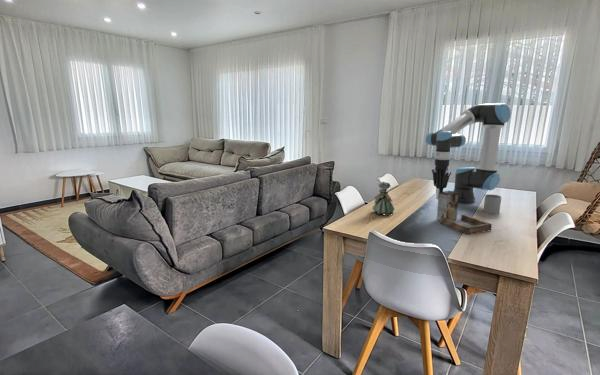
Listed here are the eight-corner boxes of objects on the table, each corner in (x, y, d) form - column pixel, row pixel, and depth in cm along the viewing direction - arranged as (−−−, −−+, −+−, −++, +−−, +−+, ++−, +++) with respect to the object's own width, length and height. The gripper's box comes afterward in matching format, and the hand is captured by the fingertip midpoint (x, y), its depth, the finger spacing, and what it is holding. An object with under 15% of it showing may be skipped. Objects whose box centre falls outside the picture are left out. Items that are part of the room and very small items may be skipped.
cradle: (440, 223, 175) (440, 217, 174) (463, 219, 180) (463, 214, 179) (466, 234, 158) (467, 228, 158) (490, 230, 163) (491, 224, 163)
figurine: (365, 213, 195) (366, 181, 190) (377, 208, 205) (378, 178, 200) (387, 218, 185) (388, 185, 181) (398, 212, 195) (400, 181, 191)
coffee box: (447, 216, 186) (449, 190, 182) (456, 219, 181) (459, 192, 177) (436, 219, 182) (438, 192, 178) (445, 222, 176) (448, 194, 173)
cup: (498, 210, 195) (500, 195, 193) (500, 214, 188) (502, 198, 185) (482, 209, 198) (484, 194, 196) (483, 213, 191) (485, 197, 189)
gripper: (428, 157, 185) (425, 196, 190) (445, 160, 173) (441, 202, 178) (439, 157, 187) (436, 195, 193) (456, 159, 175) (452, 201, 180)
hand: (438, 198), depth 185 cm, fingers closed
